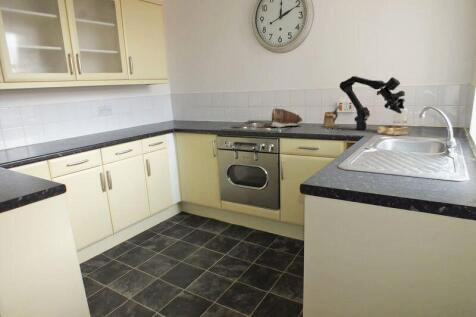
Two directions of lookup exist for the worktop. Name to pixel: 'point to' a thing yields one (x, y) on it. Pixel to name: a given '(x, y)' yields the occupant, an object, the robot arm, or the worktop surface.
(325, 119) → the wooden mug
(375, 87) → the robot arm
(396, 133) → the pine crate
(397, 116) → the white crate
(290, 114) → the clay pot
